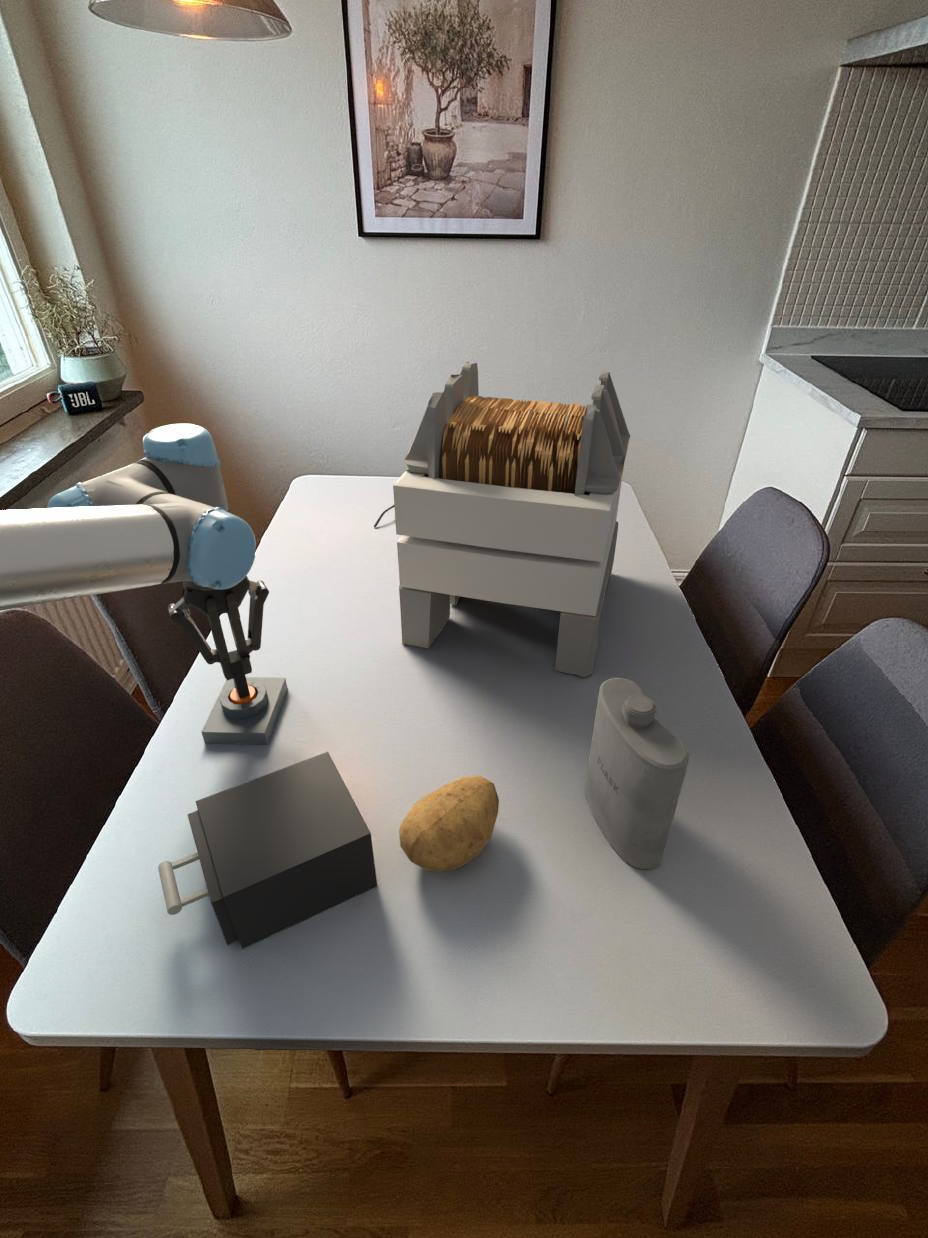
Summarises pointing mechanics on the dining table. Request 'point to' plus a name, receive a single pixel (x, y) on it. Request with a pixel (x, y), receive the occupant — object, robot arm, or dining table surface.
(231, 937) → the drawer
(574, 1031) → the dining table surface
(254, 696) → the button
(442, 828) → the potato
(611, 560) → the transformer
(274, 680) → the control block
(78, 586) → the robot arm
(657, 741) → the flask
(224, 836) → the dark grey drawer cabinet
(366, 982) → the dining table surface
